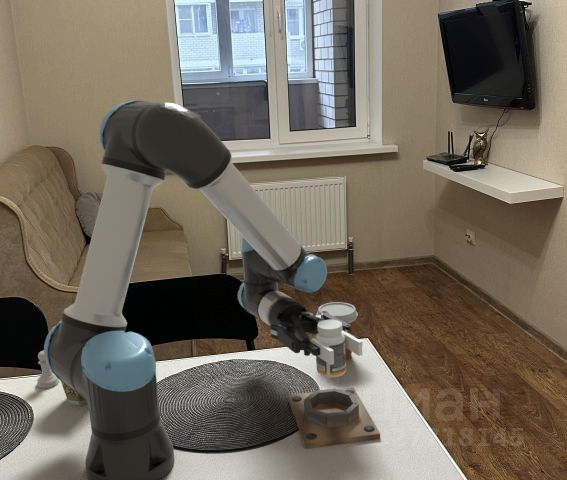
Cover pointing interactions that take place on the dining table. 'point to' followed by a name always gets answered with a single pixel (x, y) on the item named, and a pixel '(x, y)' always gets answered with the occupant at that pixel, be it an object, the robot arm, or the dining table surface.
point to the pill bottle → (335, 341)
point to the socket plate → (332, 417)
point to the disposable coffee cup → (341, 316)
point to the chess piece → (46, 374)
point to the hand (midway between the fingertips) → (346, 353)
